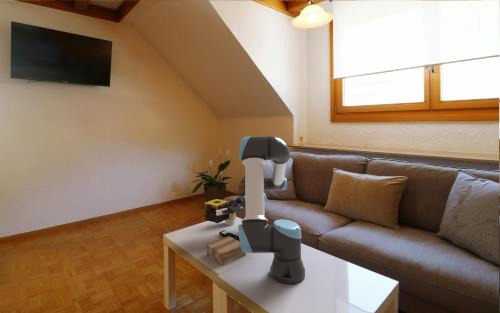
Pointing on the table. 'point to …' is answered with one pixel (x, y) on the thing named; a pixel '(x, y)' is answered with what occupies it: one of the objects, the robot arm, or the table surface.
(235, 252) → the wooden box
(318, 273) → the table surface
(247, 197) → the robot arm
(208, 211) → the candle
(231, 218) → the coffee cup
